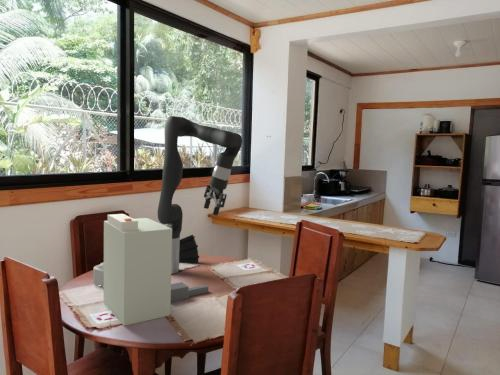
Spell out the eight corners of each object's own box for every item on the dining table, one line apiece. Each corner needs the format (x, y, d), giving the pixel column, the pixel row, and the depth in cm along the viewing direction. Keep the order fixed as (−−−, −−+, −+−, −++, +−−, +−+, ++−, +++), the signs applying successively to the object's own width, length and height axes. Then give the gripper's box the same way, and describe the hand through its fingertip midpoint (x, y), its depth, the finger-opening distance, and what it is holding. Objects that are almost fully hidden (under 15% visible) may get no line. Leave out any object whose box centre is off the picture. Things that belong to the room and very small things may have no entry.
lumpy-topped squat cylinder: (119, 287, 169) (119, 267, 168) (89, 286, 169) (89, 266, 168) (126, 279, 179) (127, 261, 178) (98, 278, 179) (98, 259, 178)
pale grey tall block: (103, 302, 152) (103, 211, 149) (145, 294, 162) (147, 209, 159) (123, 325, 133) (124, 222, 130) (170, 315, 143) (172, 218, 140)
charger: (161, 297, 159) (161, 286, 159) (203, 289, 171) (203, 277, 170) (167, 302, 154) (167, 290, 154) (210, 293, 166) (210, 282, 165)
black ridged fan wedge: (202, 261, 206) (191, 235, 206) (180, 270, 208) (169, 244, 208) (204, 259, 210) (193, 234, 209) (182, 268, 212) (171, 242, 212)
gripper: (205, 171, 174) (195, 205, 176) (221, 180, 163) (210, 216, 165) (219, 173, 178) (210, 207, 181) (236, 182, 167) (225, 218, 170)
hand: (210, 211), depth 173 cm, fingers open, 8 cm apart
